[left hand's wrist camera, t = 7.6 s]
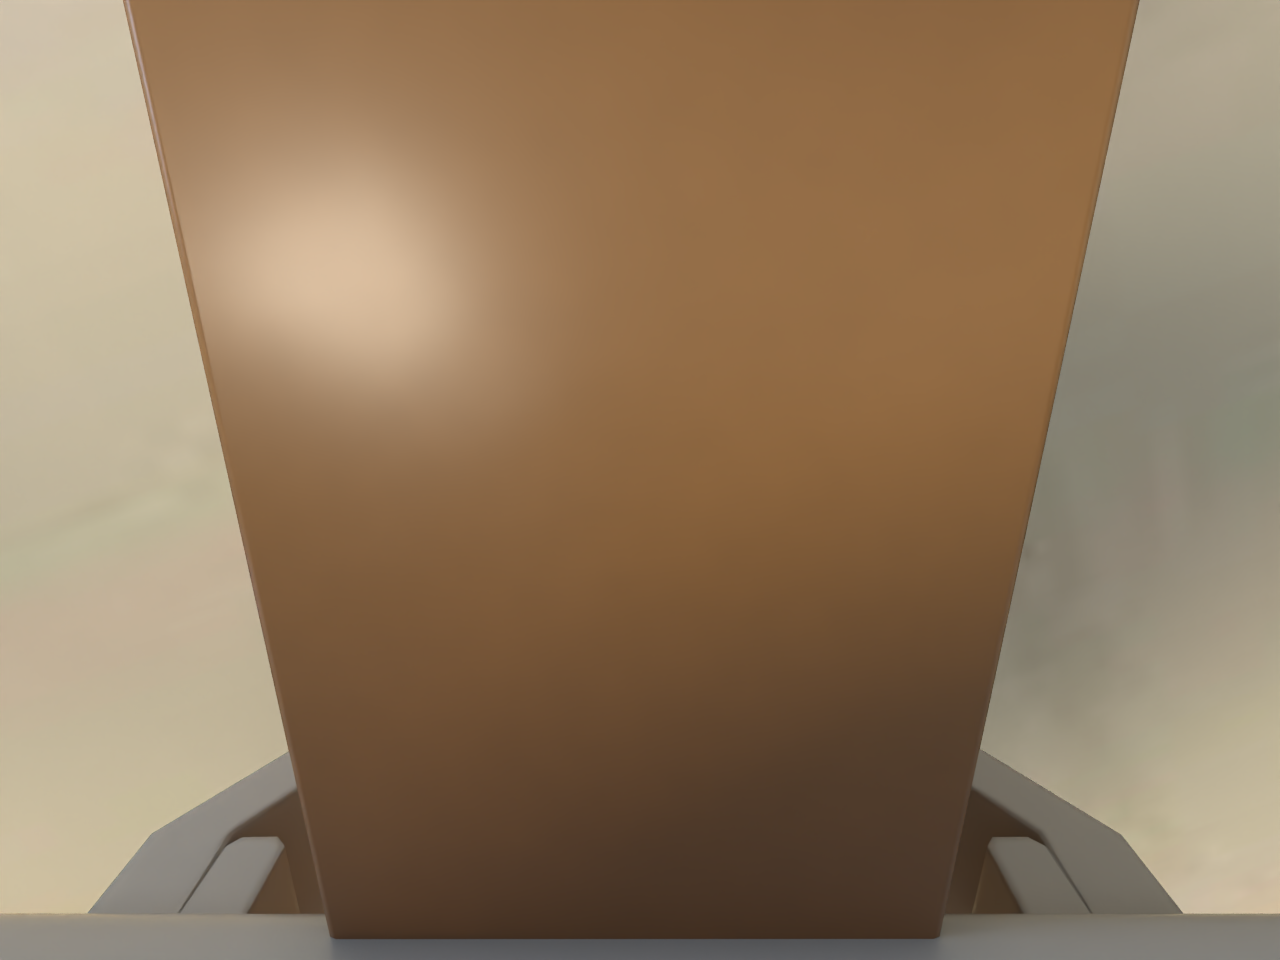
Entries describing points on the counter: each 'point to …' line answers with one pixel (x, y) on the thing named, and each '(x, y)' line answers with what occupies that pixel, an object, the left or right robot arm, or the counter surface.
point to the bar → (632, 430)
